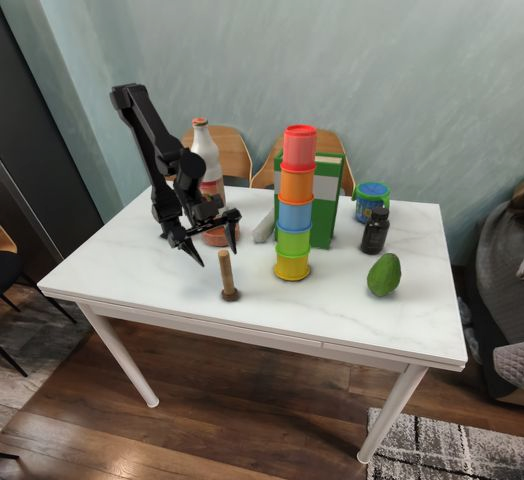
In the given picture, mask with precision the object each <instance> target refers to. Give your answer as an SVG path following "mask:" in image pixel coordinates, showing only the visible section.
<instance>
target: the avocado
mask: <svg viewBox="0 0 524 480" xmlns="http://www.w3.org/2000/svg"><path fill="white" fill-rule="evenodd" d="M401 278H402V267H401V260H400V258H399V257H398V255H397V254H396V253H393V252H386V253H384V254H382V255H381V256H380V257H379V258H378V259H377V260H376V262H375V263H374V264H372V266H371V267H370V269H369V270H368V273H367V276H366V284H367V288H368V289H369V291H370V293H371V294H372V295H375V296H378V297H384V296H387V295H389V294H391V293H392V292H394V291H395V289H397V288H398V286H399V284H400V282H401Z"/></svg>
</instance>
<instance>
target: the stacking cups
mask: <svg viewBox="0 0 524 480" xmlns="http://www.w3.org/2000/svg"><path fill="white" fill-rule="evenodd" d="M317 139H318V132H317V128H316V127H315V126H313V125H309V124H293V125H288V126H286V128H285V131H284V132H283V147H282V149H283V162H282V163H281V164H280V167H281V169H282V171H281V192H280V193H279V195H278V199H279V200H280V204H279V220H278V221H277V227H278V241H277V243H276V244H275V246H274V250H275V252H276V264H275V266H274V268H273V270H274V274H275V275H276V277H278V278H280V279H281V280H284V281H293V282H295V281H300V280H302V279H305V278H306V277H308V275H309V274H310V266H309V253H311V250H312V247H311V246H310V245H309V236H310V229H311V227H312V222H311V208H312V201H313V200H314V194H313V193H312V191H313V179H314V170H315V169H316V164H315V152H317Z"/></svg>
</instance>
